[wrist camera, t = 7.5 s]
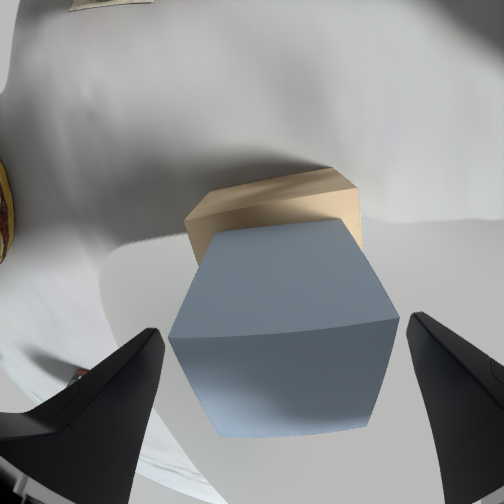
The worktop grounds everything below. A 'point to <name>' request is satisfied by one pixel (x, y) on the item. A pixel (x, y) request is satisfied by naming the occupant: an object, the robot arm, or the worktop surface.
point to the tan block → (275, 206)
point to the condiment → (100, 3)
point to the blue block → (285, 331)
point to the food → (5, 214)
